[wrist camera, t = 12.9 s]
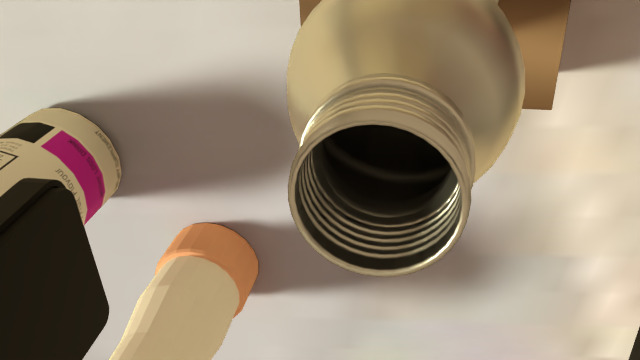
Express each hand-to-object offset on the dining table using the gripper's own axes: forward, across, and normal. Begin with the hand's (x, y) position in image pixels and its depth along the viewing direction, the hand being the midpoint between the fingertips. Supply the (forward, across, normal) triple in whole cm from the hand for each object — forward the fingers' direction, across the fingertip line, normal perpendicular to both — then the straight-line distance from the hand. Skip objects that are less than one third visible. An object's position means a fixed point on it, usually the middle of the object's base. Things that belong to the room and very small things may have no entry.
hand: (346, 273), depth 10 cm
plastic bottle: (+22, 0, 0) cm, 22 cm away
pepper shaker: (+27, +15, +24) cm, 39 cm away
